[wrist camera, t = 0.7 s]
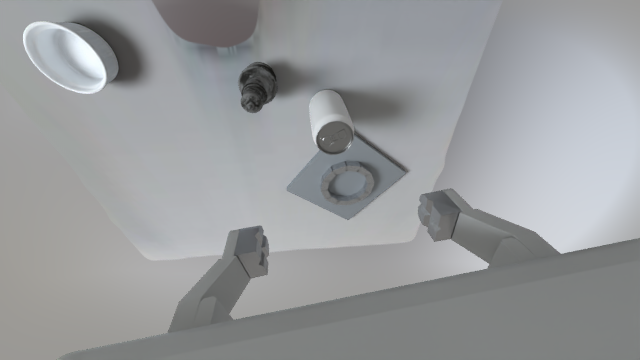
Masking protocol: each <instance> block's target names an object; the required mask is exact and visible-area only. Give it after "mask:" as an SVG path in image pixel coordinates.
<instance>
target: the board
mask: <svg viewBox="0 0 640 360" xmlns="http://www.w3.org/2000/svg"><path fill="white" fill-rule="evenodd" d="M343 161H358V162H361V163H362V164H364V165H365V166H367V167H368V168H369V169H370V171H371V173H372V177H373V180H374V186H373V188H372V191H371V193H370V194H369V195H368V196H367V197H366V198H364V199H363V200H362V201H360V202H357V203H354V204H351V205H349V204H348V205H335V204H333V203H331V202H329V201H327V200H326V199H325V198H324V196H323V194H322V192H321V188H320V184H321V179H322V175H323V174H324V173H325V172H326V171H327V170H328V169H329V168H330V167H331V166H332V165H335V164H337V163H340V162H343ZM404 174H406V172H405V171H404V170H403V169H402V168H401V167H399V166H398V165H397V164H395V163H394V162H392V161H391V160H390V159H388V158H387V157H386V156H384V155H383V154H382V153H380V152H379V151H377V150H376V149H375V148H373V147H372V146H371V145H369V144H368V143H366V142H365V141H364V140H362V139H361V138H360V137H358V136H357V135H356V134H354V140H353V143H352V145H351V146H350V148H349V149H348V150H347V151H345V152H343V153H341V154H338V155H329V154H326V153H324V152H322V151H321V150H320V151H319V152H318V153H317V154H316V155H315V156H314V157H313V158H312V160H311V161H310V162H309V163H308V164H307V165H306V166H305V167H304V169H303V170H302V171H301V172H300V173H299V174H298V175H297V176H296V177H295V179H294V180H293V181H292V182H291V183H290V184H289V185H288V186H287V191H289V192H291V193H293V194H295V195H297V196H299V197H301V198H303V199H305V200H308V201H310V202H312V203H314V204H316V205H318V206H320V207H322V208H324V209H326V210H328V211H330V212H332V213H335V214H337V215H339V216H341V217H343V218H345V219H347V220H349V219H350V218H352V217H353V216H354V215H355V214H356V213H358V212H359V211H360V210H361V209H363V208H364V207H365V206H366V205H368V204H369V203H370V202H371V201H372V200H374V199H375V198H376V197H377V196H379V195H380V194H381V193H382V192H384V191H385V190H386V189H387V188H388V187H390V186H391V185H392V184H393V183H395V182H396V181H397V180H398V179H400V178H401V177H402V176H403V175H404ZM365 180H366V178H365V176H363V175H362V174H360V173H359V172H351V171H346V172H343V173H341V174H338V175H336V176H335V177H334V178H333V179H332V180H331V181H330V182H329V186H328V188H329V190H330V192H332V193H334V194H336V195H339V196H348V195H351V194H354V193H357V192H358V191H359V190H360V189H361V188H362V187H363V186H364V183H365Z"/></svg>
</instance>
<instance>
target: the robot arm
mask: <svg viewBox="0 0 640 360" xmlns="http://www.w3.org/2000/svg"><path fill="white" fill-rule="evenodd" d="M419 201H420V202H421V205H420V206H419V207H418V216H419V219H420V221H421V223H422V224H423V225H424V226H427V227H428V233H429V234H430V236H431V237H432V239H433V240H434V242H435V241H441V240H447V239H452V240H453V241H454V242H456V243H458V244H459V245H461V246H462V247H464V248H466V249H467V250H469V251H470V252H472V253H474V254H475V255H477V256H478V257H480V258H481V259H483V260H484V261H486V262H487V263H489V266H488V268H487V269H484V270H479V271H475V272H469V273H464V274H459V275H455V276H450V277H445V278H439V279H435V280H430V281H425V282H420V283H415V284H410V285H405V286H400V287H395V288H390V289H385V290H380V291H375V292H370V293H365V294H360V295H355V296H350V297H345V298H340V299H336V300H331V301H326V302H321V303H316V304H311V305H306V306H301V307H296V308H291V309H286V310H281V311H276V312H271V313H266V314H261V315H256V316H251V317H246V318H241V319H236V320H233V319H232V317H231V316H230V315H229V313H230V312H231V310H232V308H233V307H234V305H235V303H236V302H237V300H238V299H239V297H240V296H241V294H242V292H243V290H244V289H245V287H246V286H247V284H248V282H249V281H250V278H255V277H259V276H264V275H267V273H268V261H267V259H266V258H267V256H268V255H269V244H268V240H267V238H266V236H264V235H263V231H264V230H263V228H262V226H255V227H249V228H243V229H239V230H232V231H230V232H229V234H228V238H227V241H226V245H225V249H224V253H223V256H222V259H219V260H218V261H217V262H216V263H215V264H214V265H213V266H212V267H211V268H210V269H209V270H208V272H207V273H206V274H205V275H204V276H203V277H202V278H201V279H200V280H199V282H197V283H196V285H195V286H194V287H193V288H192V289H191V290H190V291H189V292H188V293H187V294H186V295H185V296H184V297H183V299H182V300H181V301H180V302H179V304H178V306H177V309H176V312H175V314H174V317H173V320H172V322H171V325H170V328H169V330H168V333H166V334H161V335H157V336H151V337H146V338H142V339H137V340H132V341H127V342H122V343H117V344H112V345H107V346H102V347H97V348H92V349H86V350H81V351H76V352H72V353H69V354H66V355H64V356H61V357H60V358H58V359H57V360H640V238H638V239H633V240H628V241H623V242H618V243H613V244H609V245H603V246H599V247H594V248H588V249H583V250H579V251H573V252H568V253H564V254H560V253H559V252H558V251H557V250H556V249H554V248H553V247H552V246H551V245H550V244H548V243H547V242H546V241H545V240H544V239H543V238H541V237H540V236H539V235H538V234H537V233H536V232H534V231H531V230H529V229H526V228H524V227H521V226H519V225H516V224H513V223H511V222H509V221H506V220H504V219H501V218H498V217H496V216H493V215H491V214H488V213H486V212H483V211H481V210H478V209H473V208H472V207H471V206H470V205H469V204H468V203H467V202H466V201H464V199H463V198H462V197H460V195H459V194H458V193H457V192H456V191H454V190H453V189H446V190H441V191H436V192H431V193H426V194H421V196H420V199H419Z"/></svg>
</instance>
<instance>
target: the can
mask: <svg viewBox="0 0 640 360" xmlns="http://www.w3.org/2000/svg"><path fill="white" fill-rule="evenodd" d="M309 113H310V121H311V129H312V136H313V140H314V142H315V144H316V145H317V146H318V148H319V149H320V150H321V151H322V152H324V153H326V154H329V155H338V154H341V153H343V152H345V151H347V150H348V149H349V148H350V146H351V145H352V143H353V140H354V126H353V123H352V120H351V118H350V116H349V113H348V111H347V109H346V106H345V104H344V102H343V100H342V98H341V96H340V95H339V94H338V93H337V92H335V91H332V90H322V91H320V92H318V93H316V94H315V95H314V96H313V97H312V99H311V101H310V104H309Z"/></svg>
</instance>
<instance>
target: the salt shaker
mask: <svg viewBox="0 0 640 360" xmlns="http://www.w3.org/2000/svg"><path fill="white" fill-rule="evenodd" d="M238 86H239V90H240V92H241V94H242V98H241V105H242V107H243V108H244V109H245V110H246V111H247V112H250V113H256V112H258V111H260V110H261V109H262V106H263V105H264V104H266V103H269V102H270V101H272V99H273V98H274V97H275V95H276V91H277V85H276V76H275V74H274V72H273V70H272V69H271V68H270V67H269V66H268V65H266V64H264V63H260V62H256V63H252V64H250V65H249V66H248V67H247V68H246V69H245V70H243V71H242V73H241V74H240V76H239V80H238Z"/></svg>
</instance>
